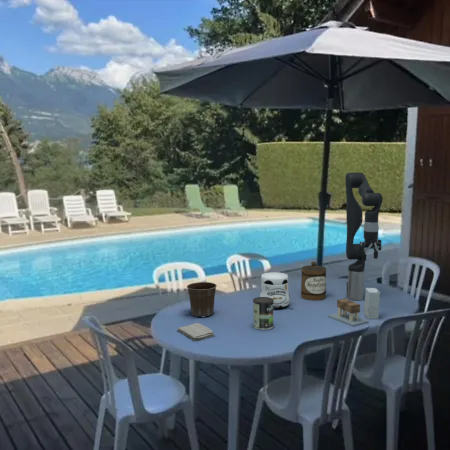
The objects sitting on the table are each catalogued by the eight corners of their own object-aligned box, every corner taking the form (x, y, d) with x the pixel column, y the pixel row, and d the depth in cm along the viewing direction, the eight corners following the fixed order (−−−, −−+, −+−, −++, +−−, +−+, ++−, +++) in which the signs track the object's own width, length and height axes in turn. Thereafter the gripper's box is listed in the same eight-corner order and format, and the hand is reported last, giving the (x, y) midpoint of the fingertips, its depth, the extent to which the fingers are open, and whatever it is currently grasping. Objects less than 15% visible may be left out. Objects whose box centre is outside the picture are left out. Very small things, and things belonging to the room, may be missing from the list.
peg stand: (328, 316, 263) (328, 306, 262) (343, 313, 269) (343, 303, 268) (352, 326, 248) (353, 316, 247) (368, 322, 253) (368, 312, 252)
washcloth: (195, 343, 231) (195, 336, 230) (176, 332, 245) (176, 326, 245) (216, 337, 238) (216, 331, 237) (196, 326, 252) (196, 321, 252)
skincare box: (363, 314, 267) (364, 287, 265) (374, 313, 267) (375, 287, 264) (368, 319, 258) (368, 291, 256) (379, 319, 258) (380, 291, 256)
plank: (337, 307, 262) (337, 299, 261) (345, 305, 264) (345, 298, 263) (351, 313, 251) (351, 306, 250) (359, 312, 253) (360, 304, 252)
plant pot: (181, 314, 270) (180, 286, 268) (202, 307, 282) (201, 280, 279) (202, 321, 259) (201, 291, 257) (223, 313, 271) (222, 285, 268)
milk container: (275, 312, 271) (275, 280, 268) (253, 305, 284) (253, 275, 281) (296, 306, 282) (296, 275, 280) (274, 299, 295) (274, 270, 292)
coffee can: (276, 325, 252) (277, 298, 250) (267, 331, 243) (267, 303, 241) (259, 321, 257) (259, 295, 255) (249, 327, 248) (249, 300, 246)
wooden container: (306, 301, 290) (307, 265, 287) (297, 294, 304) (297, 259, 301) (330, 299, 294) (330, 263, 290) (319, 292, 308) (320, 258, 305)
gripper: (366, 232, 256) (365, 262, 259) (385, 229, 263) (384, 259, 266) (356, 230, 263) (355, 259, 265) (375, 227, 270) (374, 256, 272)
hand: (369, 259), depth 266 cm, fingers open, 8 cm apart
